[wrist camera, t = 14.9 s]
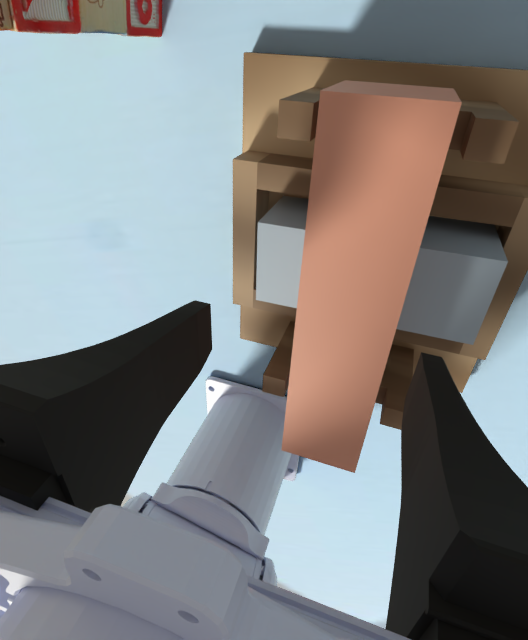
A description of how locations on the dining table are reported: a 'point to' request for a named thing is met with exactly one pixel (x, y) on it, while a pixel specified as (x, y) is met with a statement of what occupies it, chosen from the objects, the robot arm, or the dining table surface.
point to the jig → (449, 202)
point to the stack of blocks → (83, 16)
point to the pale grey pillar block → (427, 278)
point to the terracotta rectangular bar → (360, 254)
